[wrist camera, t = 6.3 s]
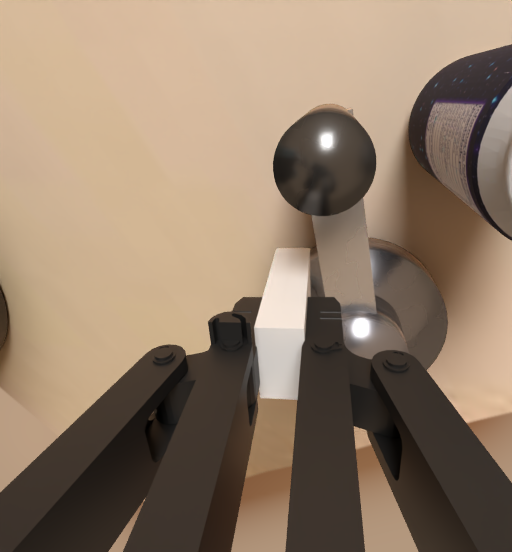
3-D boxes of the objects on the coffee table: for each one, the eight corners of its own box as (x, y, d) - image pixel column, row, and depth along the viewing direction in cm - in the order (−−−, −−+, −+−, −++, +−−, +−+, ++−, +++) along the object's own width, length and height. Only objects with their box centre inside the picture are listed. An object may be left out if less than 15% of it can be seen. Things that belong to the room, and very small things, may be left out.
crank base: (279, 370, 28) (274, 392, 26) (271, 237, 24) (266, 251, 22) (428, 379, 26) (437, 404, 24) (449, 236, 22) (461, 251, 20)
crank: (404, 361, 23) (440, 500, 15) (319, 367, 24) (313, 499, 17) (378, 90, 18) (416, 89, 10) (270, 116, 19) (225, 134, 11)
